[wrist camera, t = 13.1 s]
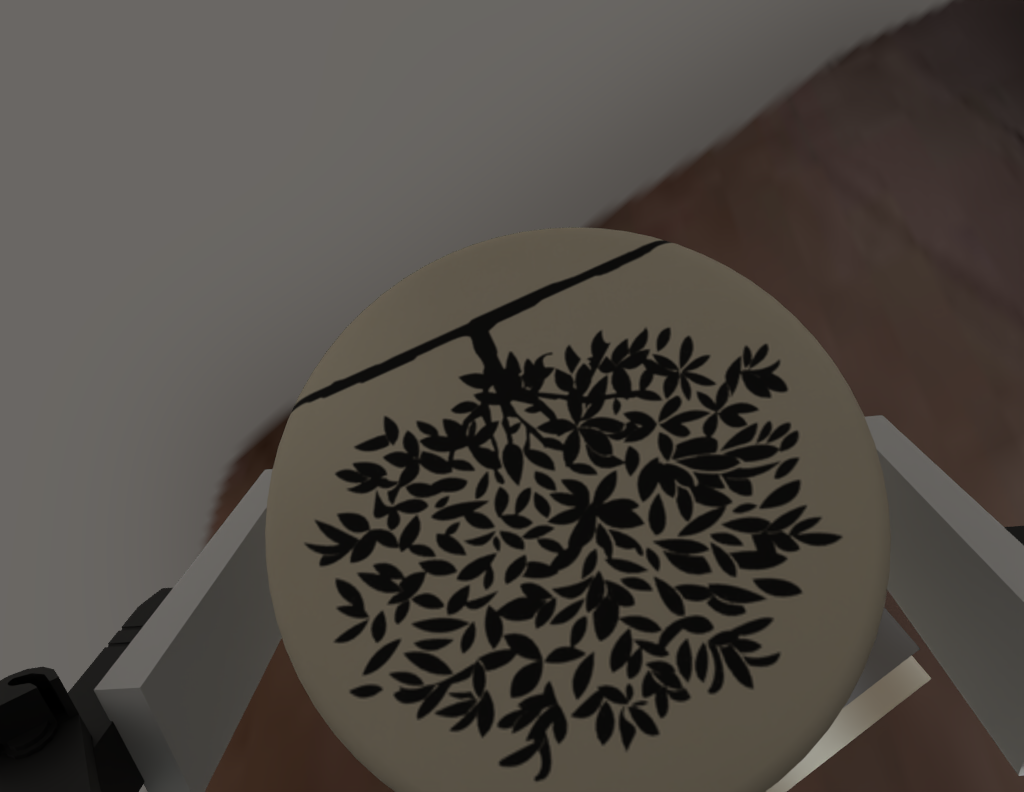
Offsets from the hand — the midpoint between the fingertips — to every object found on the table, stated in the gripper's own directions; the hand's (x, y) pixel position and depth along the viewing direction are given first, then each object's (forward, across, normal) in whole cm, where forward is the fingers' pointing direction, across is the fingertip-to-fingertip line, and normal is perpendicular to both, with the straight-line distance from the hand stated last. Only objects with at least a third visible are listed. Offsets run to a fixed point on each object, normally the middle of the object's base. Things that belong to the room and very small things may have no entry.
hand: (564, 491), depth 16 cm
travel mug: (+6, 0, -8) cm, 10 cm away
